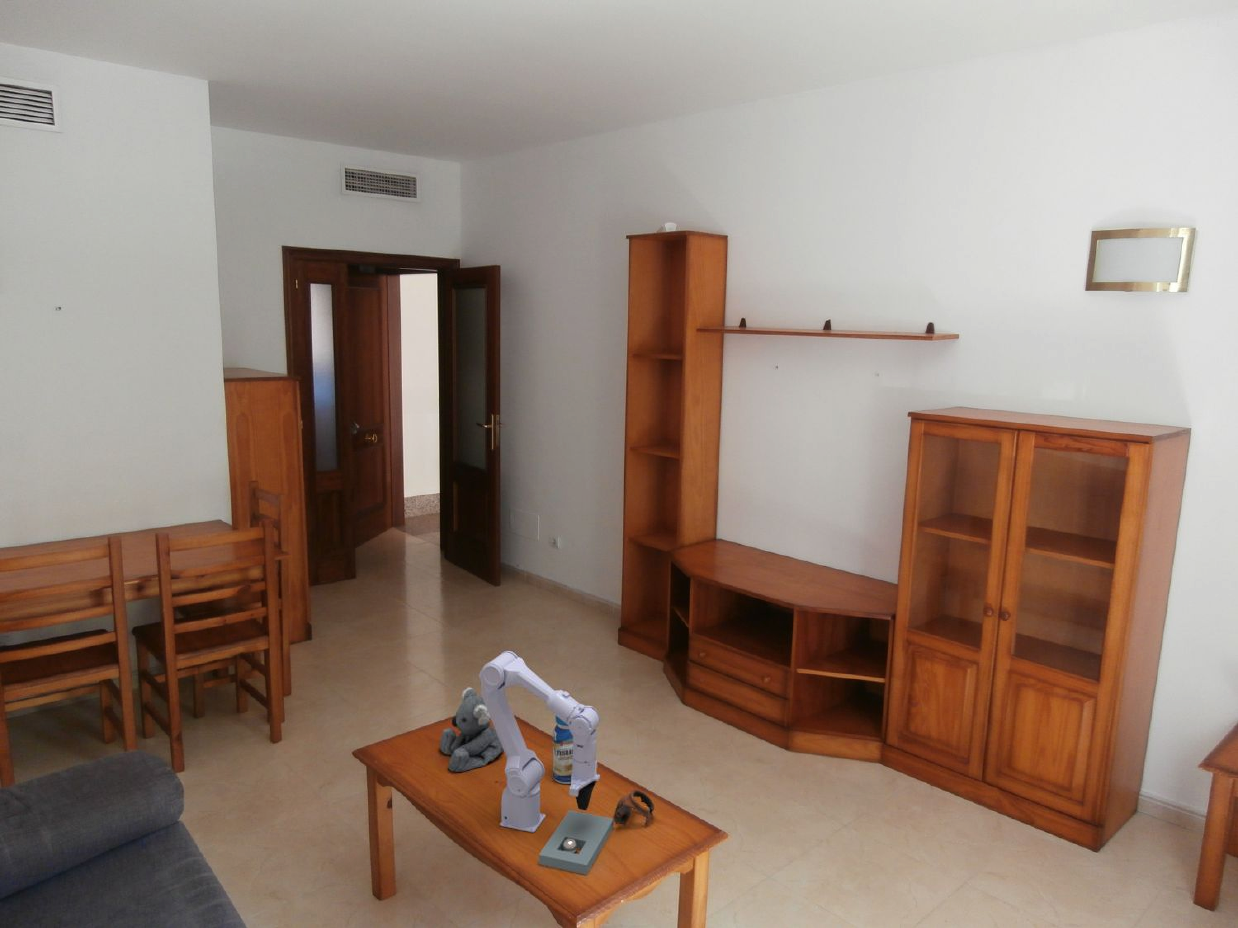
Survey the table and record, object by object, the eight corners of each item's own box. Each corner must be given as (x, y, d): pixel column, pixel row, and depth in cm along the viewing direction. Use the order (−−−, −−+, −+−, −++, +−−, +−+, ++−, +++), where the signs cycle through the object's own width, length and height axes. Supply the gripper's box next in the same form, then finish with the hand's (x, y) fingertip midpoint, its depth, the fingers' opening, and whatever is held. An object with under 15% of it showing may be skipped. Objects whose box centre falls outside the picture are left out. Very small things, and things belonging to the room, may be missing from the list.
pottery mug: (621, 807, 227) (637, 783, 226) (646, 833, 223) (663, 809, 221) (598, 817, 217) (615, 792, 215) (624, 845, 212) (642, 820, 211)
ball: (560, 853, 204) (560, 837, 206) (565, 855, 207) (565, 840, 209) (574, 852, 203) (574, 836, 205) (579, 854, 206) (579, 838, 208)
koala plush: (437, 748, 256) (436, 687, 253) (495, 737, 263) (495, 677, 260) (451, 776, 240) (450, 711, 237) (512, 764, 248) (512, 700, 245)
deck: (538, 864, 202) (538, 854, 201) (569, 818, 220) (569, 809, 220) (586, 874, 198) (586, 865, 198) (613, 827, 217) (613, 818, 216)
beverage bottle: (584, 770, 244) (585, 704, 241) (579, 786, 236) (580, 718, 233) (555, 768, 245) (555, 702, 242) (549, 784, 237) (550, 716, 234)
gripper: (589, 774, 202) (588, 827, 204) (609, 746, 215) (607, 796, 218) (561, 769, 204) (560, 821, 206) (582, 741, 217) (581, 790, 220)
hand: (583, 808), depth 212 cm, fingers closed
